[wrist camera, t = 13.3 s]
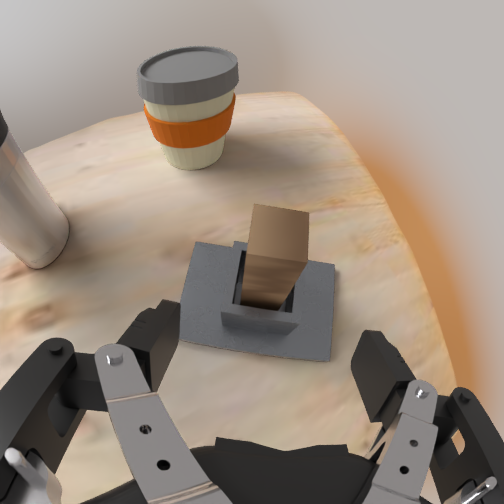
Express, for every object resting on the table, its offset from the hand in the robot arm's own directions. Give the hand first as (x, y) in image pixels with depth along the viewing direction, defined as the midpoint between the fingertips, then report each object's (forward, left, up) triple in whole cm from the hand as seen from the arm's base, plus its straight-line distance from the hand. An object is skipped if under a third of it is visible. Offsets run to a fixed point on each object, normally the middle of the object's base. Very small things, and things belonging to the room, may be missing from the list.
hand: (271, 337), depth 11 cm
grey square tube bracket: (-4, +5, -17) cm, 18 cm away
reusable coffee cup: (-28, +12, -17) cm, 35 cm away
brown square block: (-4, +5, -14) cm, 16 cm away
